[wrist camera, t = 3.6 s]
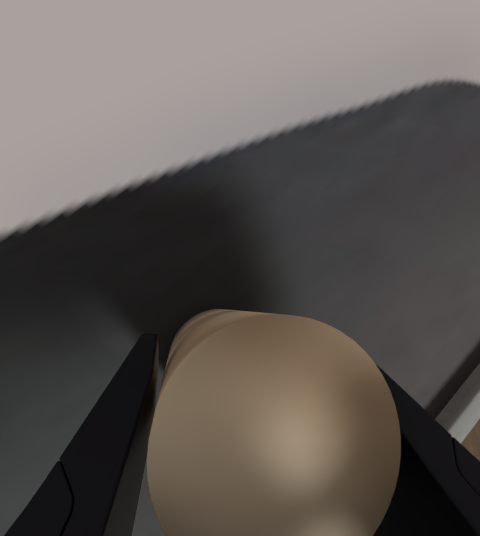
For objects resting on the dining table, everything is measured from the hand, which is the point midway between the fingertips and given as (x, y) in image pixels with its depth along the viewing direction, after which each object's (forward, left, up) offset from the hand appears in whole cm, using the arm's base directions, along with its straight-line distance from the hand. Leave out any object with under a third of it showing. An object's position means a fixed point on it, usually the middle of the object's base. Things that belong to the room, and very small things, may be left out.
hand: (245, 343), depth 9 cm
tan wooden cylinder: (-1, -1, -7) cm, 7 cm away
